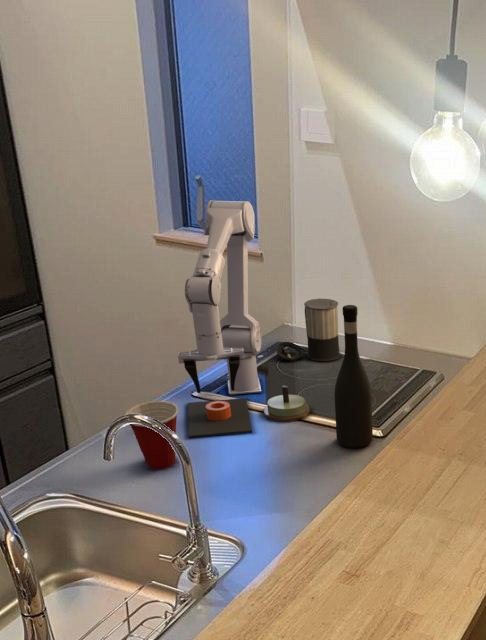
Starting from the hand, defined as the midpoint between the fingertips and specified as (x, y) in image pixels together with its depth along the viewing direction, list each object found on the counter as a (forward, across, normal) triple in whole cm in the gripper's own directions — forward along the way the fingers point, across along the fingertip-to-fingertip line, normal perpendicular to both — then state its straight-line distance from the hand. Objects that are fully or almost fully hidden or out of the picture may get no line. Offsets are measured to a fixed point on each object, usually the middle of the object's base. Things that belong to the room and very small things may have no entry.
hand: (215, 390), depth 197 cm
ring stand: (+7, +16, 0) cm, 17 cm away
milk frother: (+7, +26, +38) cm, 46 cm away
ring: (+6, 0, 0) cm, 6 cm away
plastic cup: (+7, -13, -22) cm, 27 cm away
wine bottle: (+7, +29, -20) cm, 36 cm away
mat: (+7, 0, 0) cm, 7 cm away
